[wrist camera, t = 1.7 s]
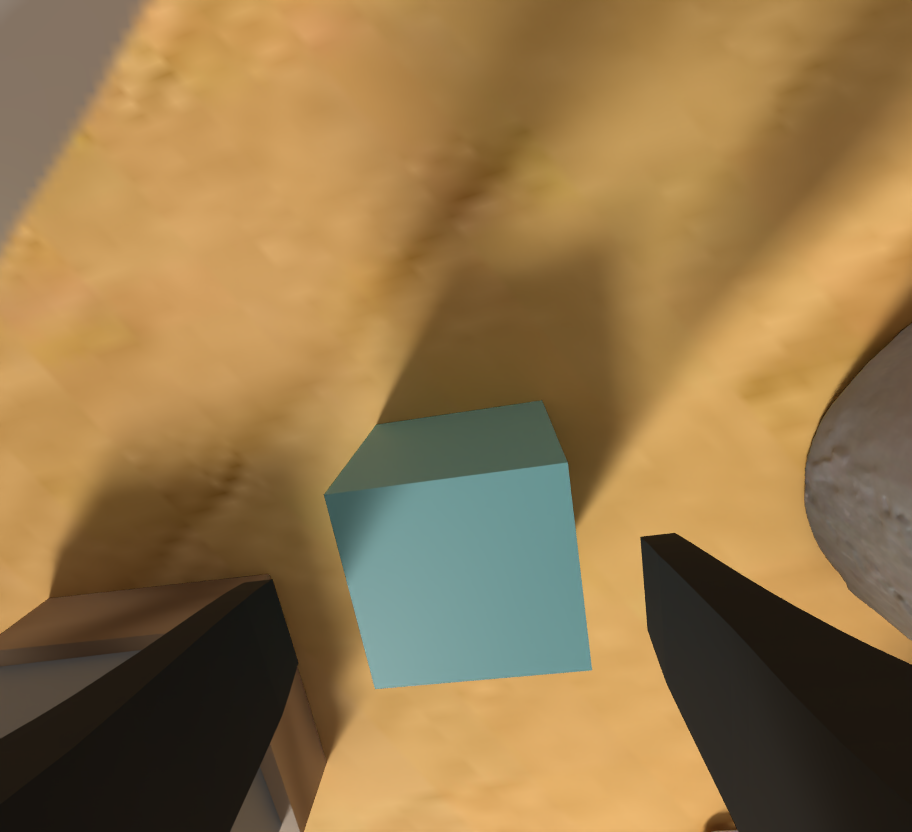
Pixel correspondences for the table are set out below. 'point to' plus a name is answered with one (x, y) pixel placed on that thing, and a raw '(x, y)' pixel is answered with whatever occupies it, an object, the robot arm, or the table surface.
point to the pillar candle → (868, 483)
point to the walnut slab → (141, 623)
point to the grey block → (51, 682)
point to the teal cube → (462, 548)
